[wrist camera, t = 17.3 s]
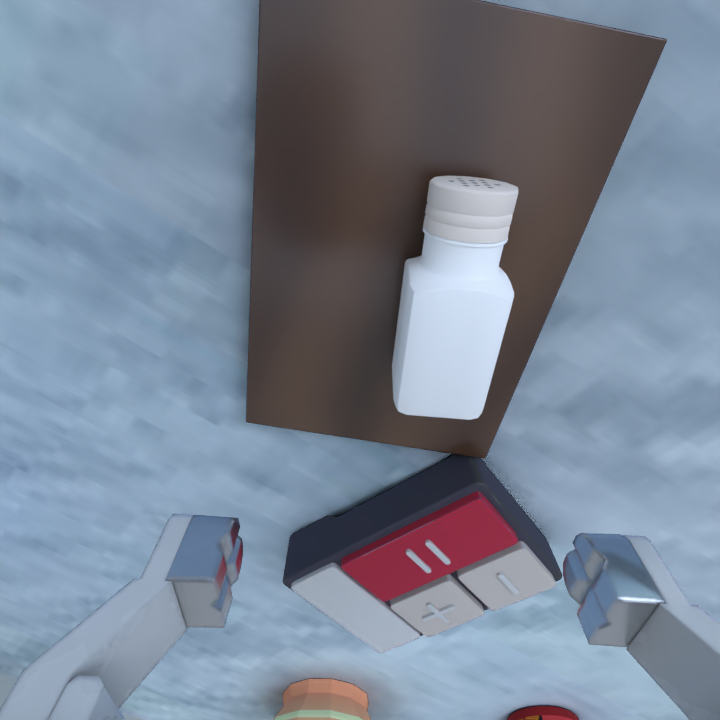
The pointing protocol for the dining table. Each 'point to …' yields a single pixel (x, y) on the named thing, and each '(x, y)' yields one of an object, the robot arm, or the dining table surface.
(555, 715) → the canned food
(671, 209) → the dining table surface
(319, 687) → the potted cactus
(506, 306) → the pepper shaker
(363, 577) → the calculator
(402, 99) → the board
